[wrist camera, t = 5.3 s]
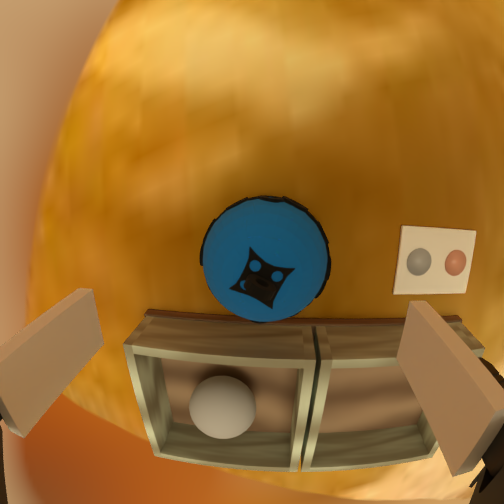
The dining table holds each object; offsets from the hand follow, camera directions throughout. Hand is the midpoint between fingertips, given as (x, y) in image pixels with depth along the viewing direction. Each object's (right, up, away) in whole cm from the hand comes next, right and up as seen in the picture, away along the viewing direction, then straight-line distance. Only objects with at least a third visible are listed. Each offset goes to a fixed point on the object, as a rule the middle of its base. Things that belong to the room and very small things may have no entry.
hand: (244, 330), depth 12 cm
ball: (-2, -10, +16) cm, 19 cm away
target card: (+17, +2, +12) cm, 21 cm away
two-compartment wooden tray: (+6, -10, +17) cm, 20 cm away
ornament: (+2, +4, +13) cm, 14 cm away
